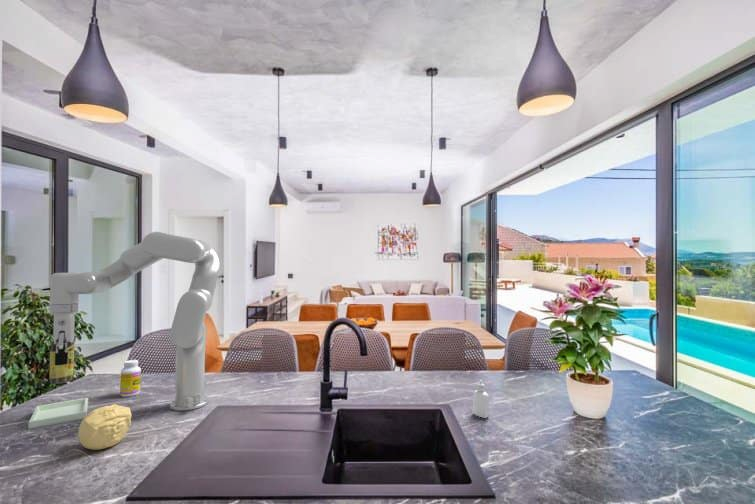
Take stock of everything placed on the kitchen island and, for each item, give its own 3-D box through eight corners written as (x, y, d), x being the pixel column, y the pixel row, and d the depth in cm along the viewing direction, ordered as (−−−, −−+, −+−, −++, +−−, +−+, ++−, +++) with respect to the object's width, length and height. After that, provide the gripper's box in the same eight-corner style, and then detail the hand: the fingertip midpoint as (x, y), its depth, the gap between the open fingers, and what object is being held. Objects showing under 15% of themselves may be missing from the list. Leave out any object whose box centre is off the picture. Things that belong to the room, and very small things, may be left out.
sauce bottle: (72, 382, 125) (73, 323, 126) (47, 386, 122) (49, 324, 122) (74, 377, 131) (76, 320, 131) (51, 380, 127) (52, 322, 128)
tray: (86, 418, 124) (86, 411, 124) (28, 429, 115) (28, 422, 116) (88, 403, 137) (88, 397, 137) (36, 412, 128) (36, 406, 128)
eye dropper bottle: (484, 412, 130) (484, 377, 131) (490, 419, 125) (490, 382, 125) (472, 412, 130) (472, 377, 130) (477, 419, 124) (477, 382, 125)
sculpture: (89, 459, 98) (90, 417, 99) (70, 447, 105) (71, 408, 105) (136, 441, 108) (137, 403, 108) (116, 431, 114) (117, 395, 115)
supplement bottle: (132, 397, 143) (133, 363, 144) (115, 397, 143) (116, 363, 144) (144, 391, 150) (144, 359, 150) (127, 391, 150) (128, 359, 150)
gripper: (76, 310, 122) (74, 366, 122) (79, 305, 136) (78, 355, 136) (46, 312, 118) (43, 370, 117) (52, 307, 132) (50, 358, 131)
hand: (62, 361), depth 127 cm, fingers closed on sauce bottle, 6 cm apart
